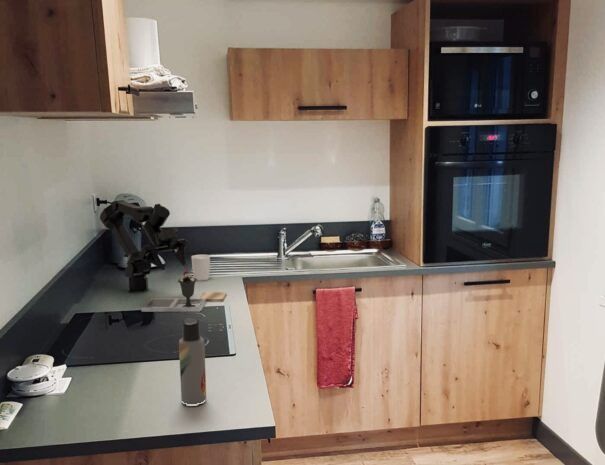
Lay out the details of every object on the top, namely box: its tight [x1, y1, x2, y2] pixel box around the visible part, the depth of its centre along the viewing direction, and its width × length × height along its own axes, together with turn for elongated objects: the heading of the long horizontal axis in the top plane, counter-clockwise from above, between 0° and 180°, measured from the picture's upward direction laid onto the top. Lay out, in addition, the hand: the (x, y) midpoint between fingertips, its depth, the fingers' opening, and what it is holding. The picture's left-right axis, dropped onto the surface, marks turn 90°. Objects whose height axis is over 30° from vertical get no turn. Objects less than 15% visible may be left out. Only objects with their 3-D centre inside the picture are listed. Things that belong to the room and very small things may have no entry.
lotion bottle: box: [178, 316, 207, 404], centre depth 126 cm, size 6×6×20 cm
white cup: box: [190, 254, 211, 282], centre depth 237 cm, size 8×8×10 cm
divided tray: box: [140, 298, 207, 313], centre depth 198 cm, size 21×11×2 cm, turn 89°
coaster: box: [198, 291, 227, 303], centre depth 209 cm, size 9×9×1 cm
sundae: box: [177, 265, 197, 307], centre depth 197 cm, size 7×7×15 cm
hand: (174, 267), depth 202 cm, fingers open, 9 cm apart
